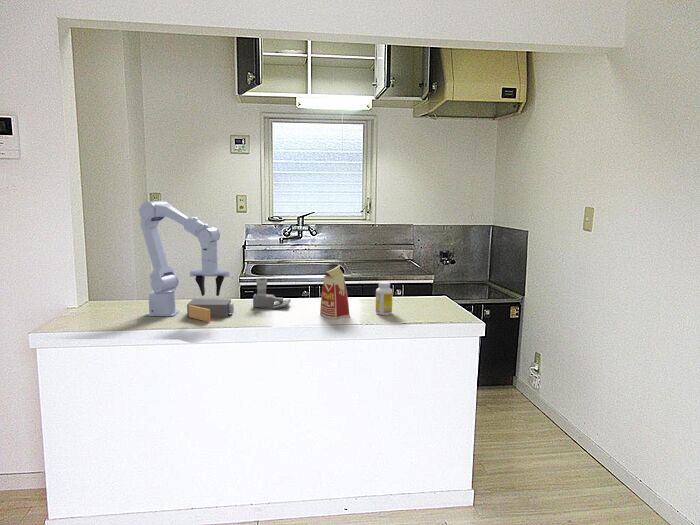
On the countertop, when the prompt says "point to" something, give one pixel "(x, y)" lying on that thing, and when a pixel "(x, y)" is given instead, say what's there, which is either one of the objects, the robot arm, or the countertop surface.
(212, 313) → the camera case
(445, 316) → the countertop surface
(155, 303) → the robot arm
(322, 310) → the milk carton
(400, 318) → the countertop surface
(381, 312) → the supplement bottle
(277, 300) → the camera
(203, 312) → the case door
